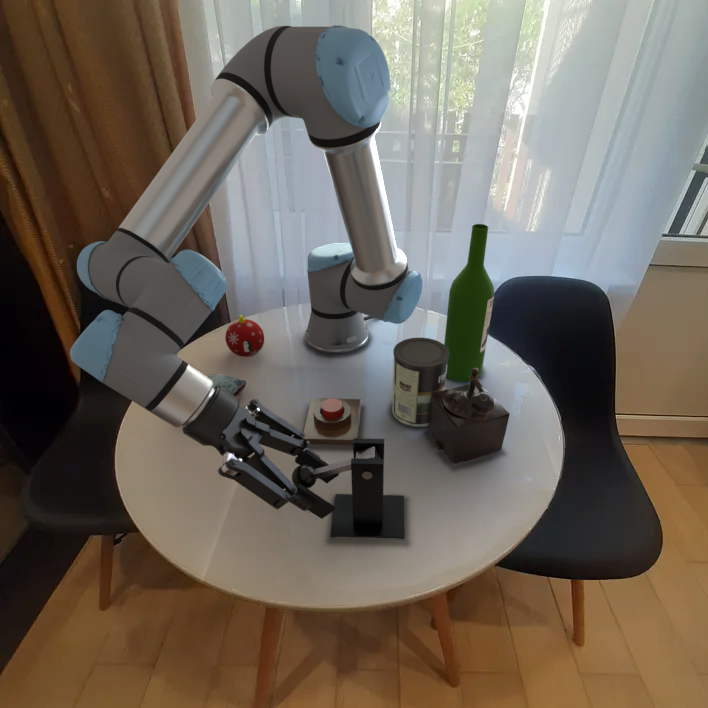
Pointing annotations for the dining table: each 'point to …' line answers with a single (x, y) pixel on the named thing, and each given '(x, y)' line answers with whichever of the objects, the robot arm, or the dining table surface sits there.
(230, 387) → the packaged food
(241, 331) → the christmas ornament
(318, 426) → the button block
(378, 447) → the bracket
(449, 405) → the brown coffee grinder
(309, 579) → the dining table surface
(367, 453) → the lever
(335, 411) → the button
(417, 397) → the coffee can
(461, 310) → the wine bottle
